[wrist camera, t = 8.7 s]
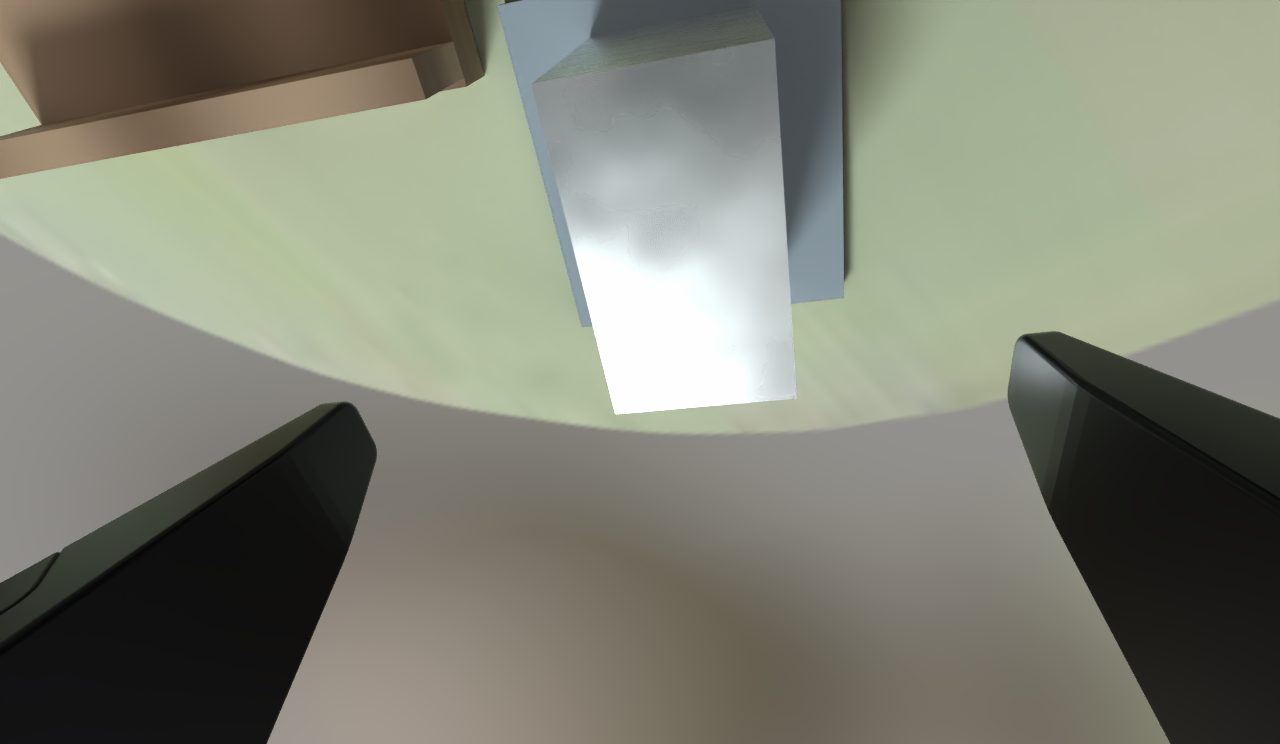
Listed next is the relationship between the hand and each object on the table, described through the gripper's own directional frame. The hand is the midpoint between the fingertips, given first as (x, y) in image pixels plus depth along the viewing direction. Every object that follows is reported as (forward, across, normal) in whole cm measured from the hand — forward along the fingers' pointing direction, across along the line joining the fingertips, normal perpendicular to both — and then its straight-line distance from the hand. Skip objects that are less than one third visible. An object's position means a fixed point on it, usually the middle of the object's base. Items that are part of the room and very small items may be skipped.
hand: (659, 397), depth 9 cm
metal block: (+10, 0, 0) cm, 10 cm away
